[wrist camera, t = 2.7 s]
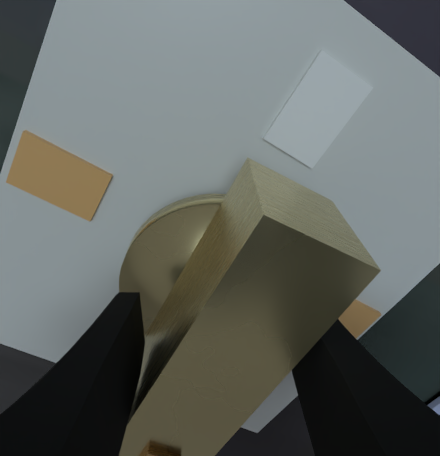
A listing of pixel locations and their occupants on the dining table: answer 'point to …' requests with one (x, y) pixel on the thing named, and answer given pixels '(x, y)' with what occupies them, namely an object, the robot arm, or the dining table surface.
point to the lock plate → (209, 147)
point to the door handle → (232, 304)
